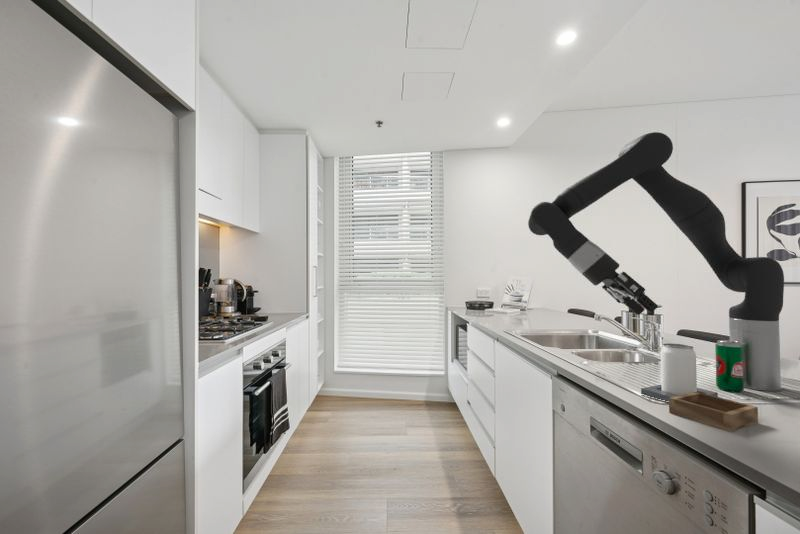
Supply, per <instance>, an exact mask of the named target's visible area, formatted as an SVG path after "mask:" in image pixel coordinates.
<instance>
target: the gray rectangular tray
mask: <svg viewBox="0 0 800 534" xmlns="http://www.w3.org/2000/svg"><path fill="white" fill-rule="evenodd" d="M640 392H641V393H640V395H641V394H644V395H647V396H650V397H654V398H657V399H661V400H665V401H669V398H670V397H675V396H679V395H676V394H673V393H669V392H665V391H662V388H661V384H657V385H652V386H648V387H647V386H646V387H641V389H640ZM697 392H700V393H704V394H708V395H712V396H716V397H719V395H718V392H716V391H712V390H708V389H703V388H700V387H697Z"/></svg>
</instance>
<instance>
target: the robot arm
mask: <svg viewBox="0 0 800 534" xmlns="http://www.w3.org/2000/svg"><path fill="white" fill-rule="evenodd" d="M673 150H674V145H673V141H672V139H671V138H670V137H669V136H668V135H666V134H665V133H663V132H658V131H657V132H656V131H655V132H649V133H646V134H645V133H644V134H643V135H641V136H639V137H637V138H636V139H633V140H632V141H630V142H628V143H627V144H625V145H624V146H623V147H621V149H620V150H619V154H618V157H617V158H616V159H614V160H613V161H611V162H610V163H608V164H606V165H605V166H603V167H601V168H600V169H598V170H596V171H594V172H592V173H590V174H589V175H587V176H585V177H582V178H581V179H579V180H578V181H576V182H574V183H573V184H571V185H570V186H568V187H567V188H565V189H564V190H562V191H561V192H560V193H559V194H558V195H557V196H556V197H555V199H554V200H553V201H551V202H550V201H549V202H548V201H542V202H539V203H537V204H535V206H534V207H533V208H532V210H531V212H530V215H529V218H528V222H527V225H528V229H529V231H530V232H531V233H532V234H533V235H536V236H546V235H547V236H548V237H549V238H550V239H551V240H552V243H553V244H552V245H553V247H554V249H556V251H558V253H559V254H561V255H562V256H563V257H564V258H565V259H566V260H568V262H569V263H570V264H571V265H572V266H573V267H574V268H575V269H576V270H577V271H578V272H579V273H580V274H581V275H582V276H583V277H585V279H586V280H587V281H589V282H590V283H591V284H592V285H593V286H594V287H595V286H596V287H597V286H598V285H600V284H601V283H603V284H602V286H601V288H602V290H604V291H606V293H607V294H609V295H610V296H611V297H612V298H613V299H614V300H615V301H616V302H617V303H618V304H622V305H625V306H626V307H627V308H628V309H630V311H632V312H633V313H634V314H636V316H638V315H641V314H642V313H643V312H644V311H645V310H646V311H647V312H648V313H653V312H654V311H656V309H657V308H658V307H659V305H658V304H657V303H656V302H655V301H653V300H652V299H651V298H650V297H649V296H648V295H647V294H646V292H645V291H646V288H645V287H644V286H642V285H641V284H640V283H638V282H637V281H636V280H635V279H634V278H632V277H631V276H630V275H629V274H628V273H627V272H625V271H622V272H620V273H619V272H617V270H618V269H619V267H620V263H618V262H617V261H616V260H615V259H614V258H613V257H612V256H610V254H608V253H607V252H606V251H604V249H602V248H601V247H600V246H598V245H597V243H594V242H592V241H591V240H590V239H589V238H588V237H587V236H585V235H584V233H582V232H581V231H579V230H578V229H577V228H576V227H575V226H574V225H573V224H574V223H573V222H572V221H571V220H570V219H571V217H573V216H574V215H576V214H578V213H580V212H582V211H583V210H585V209H586V208H588V207H589V206H591V205H592V204H594V203H595V202H597V201H598V200H600V199H602V198H603V197H604V196H606V195H607V194H609V193H610V192H612V191H613V190H614V189H616V188H618V187H619V186H621V185H622V184H625V183H626V182H628V181H629V180H631V179H632V180H633V181H635V182H636V183H637V184H638V185H639V186H640V187H641V188H642V189H643V190H644V191H646V192H647V193H648V194H649V196H650V197H651V198H652V199H653V200H654V202H656V204H657V205H658V206H659V207H660V208H661V209H662V210H663V211H664V213H665V214H666V215H667V216H668V217H669V219H671V222H672V223H673V224H675V226H677V228H678V229H679V231H681V232H682V234H683V235H684V236H686V238H687V239H688V240H689V242H691V243H692V245H693V246H694V247H695V248H696V250H697V251H698V252H699V253H700V255H702V257H703V258H704V260H705V261H706V262H707V264H708V266H710V268H711V269H712V271H713V272H714V274H715V275H716V277H717V278H718V280H719V281H720V282H721V284H722V285H724V287H725V288H726V289H728V290H730V291H733V292H736V293H744V299H743V300H742V301H741V302H740V303H738V304H736V305H732V306H731V307H729V310H728V327H729V341H737V342H740V343H741V346H742V347H743V374H744V388H748V389H752V390H757V391H758V390H760V391H769V392H777V391H779V392H780V391H781V390H782V378H781V377H782V371H781V369H782V368H781V340H780V339H781V338H780V337H781V335H780V314H781V312H782V310H783V306H784V295H785V294H784V293H785V292H784V290H785V276H784V275H785V274H784V270H783V267H782V266H781V264H780V263H779V262H778V260H776V259H774V258H772V257H768V256H767V257H766V256H757V257H742V256H741V255H740V254H738V252H737V251H735V249H734V248H733V247H732V246H731V245H730V243H729V242H728V239H727V235H726V221H725V216H724V214H723V212H722V211H721V210H720V209H719V207H717V205H716V204H715V203H714V202H713V200H711V198H710V197H709V196H708V195H706V194H705V193H704V192H703V191H701V190H699V189H697V188H696V187H694V186H692V185H689V184H687V183H685V182H683V181H681V180H679V179H677V178H675V177H674V176H673V175H671V173H669V172H668V171H667V170H666V169H665V168H664V166H663V165H665V164H666V162H668V161H669V159H670V158H671V156H672V154H673Z"/></svg>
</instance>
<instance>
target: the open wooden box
mask: <svg viewBox="0 0 800 534" xmlns="http://www.w3.org/2000/svg"><path fill="white" fill-rule="evenodd" d="M668 411H669V412H668V413H670V414H673V415H675V416H679V417H683V418H684V419H688V420H692V421H695V422H698V423H701V424H705V425H707V426H712V427H714V428H717V429H720V430H724V431H726V432H735V431H739V430H741V429H744V428H747V427H750V426H753V425H756V424H758V423H759V409H758V406H756V405H751V404H747V403H742V402H739V401H736V400H731V399H727V398H723V397H719V396H718V397H716V396H712V395H708V394H704V393H700V392H693V393H688V394H684V395H679V396H675V397H670V398H669V403H668Z"/></svg>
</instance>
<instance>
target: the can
mask: <svg viewBox="0 0 800 534" xmlns="http://www.w3.org/2000/svg"><path fill="white" fill-rule="evenodd" d="M662 346H663V347H661V350H660V374H661V376H660V380H661V383H660V385H661V388H662V391H665V392H669V393H673V394H676V395H684V394H688V393H693V392H697V388H698V385H697V384H698V382H697V379H698V378H697V374H698V373H697V354H696V351H694V346H692V345H688V344H682V343H681V344H680V343H670V342H667V343H663V344H662Z"/></svg>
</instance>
